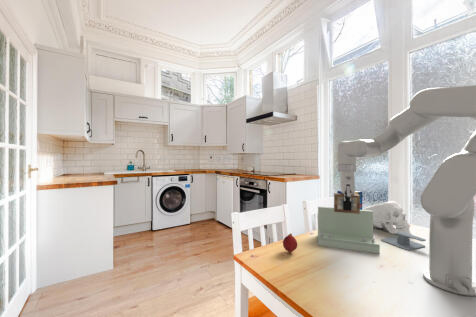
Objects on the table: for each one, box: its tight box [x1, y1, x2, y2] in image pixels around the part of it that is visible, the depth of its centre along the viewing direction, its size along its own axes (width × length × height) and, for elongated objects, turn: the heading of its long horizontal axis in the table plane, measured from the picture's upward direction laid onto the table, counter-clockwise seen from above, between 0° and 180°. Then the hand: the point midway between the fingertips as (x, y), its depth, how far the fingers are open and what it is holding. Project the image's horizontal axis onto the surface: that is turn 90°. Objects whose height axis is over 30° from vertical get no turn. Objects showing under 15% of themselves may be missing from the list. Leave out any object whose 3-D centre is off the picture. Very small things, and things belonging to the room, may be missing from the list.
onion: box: [282, 233, 298, 253], centre depth 88 cm, size 6×6×8 cm
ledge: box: [317, 205, 381, 255], centre depth 97 cm, size 13×24×15 cm, turn 69°
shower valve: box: [380, 232, 427, 252], centre depth 97 cm, size 12×6×15 cm
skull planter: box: [364, 200, 412, 235], centre depth 117 cm, size 14×20×19 cm
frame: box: [333, 192, 360, 214], centre depth 95 cm, size 4×10×8 cm, turn 69°
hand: (346, 208), depth 95 cm, fingers closed on frame, 3 cm apart
